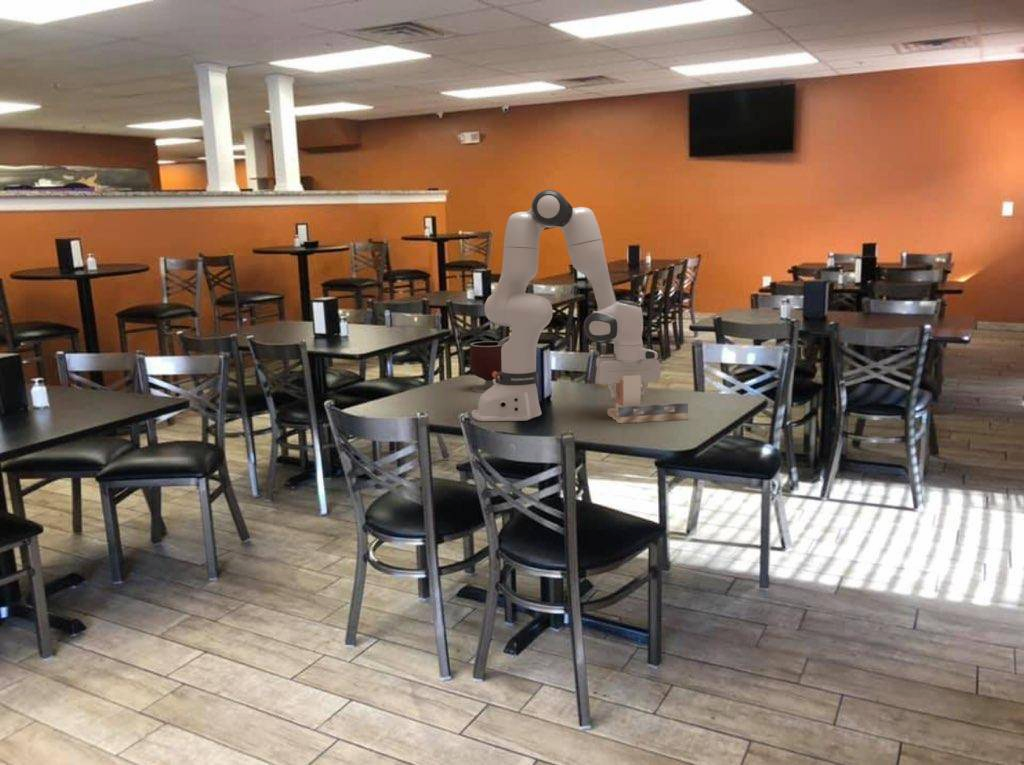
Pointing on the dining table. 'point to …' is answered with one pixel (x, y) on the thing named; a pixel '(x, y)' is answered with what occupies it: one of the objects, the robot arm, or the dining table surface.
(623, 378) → the product box
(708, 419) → the dining table surface
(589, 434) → the dining table surface
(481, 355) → the mate gourd
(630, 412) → the display board
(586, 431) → the dining table surface
